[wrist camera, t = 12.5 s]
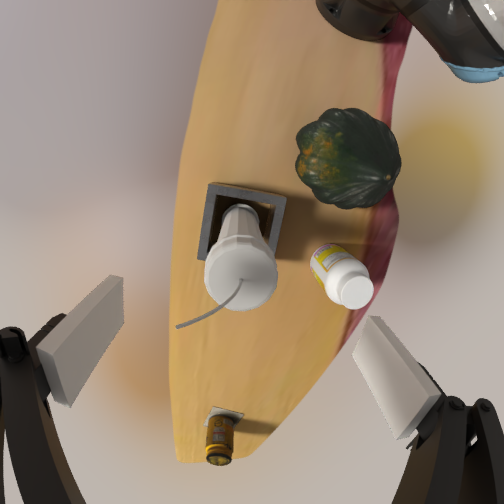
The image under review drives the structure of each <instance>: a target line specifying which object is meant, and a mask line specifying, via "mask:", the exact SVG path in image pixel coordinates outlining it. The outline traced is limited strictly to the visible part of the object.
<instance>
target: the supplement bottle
mask: <svg viewBox="0 0 504 504" xmlns="http://www.w3.org/2000/svg"><path fill="white" fill-rule="evenodd" d="M310 268H311V271H312V273H313V275H314V277H315V278H316V279H317V281H318V282H319V284H320V285H321V287H322V288H323V289H324V291H325V292H326V294H327V295H328V297H329V298H330V299H331V300H332V301H333V302H335V303H337V304H341V305H344V306H345V307H347V308H349V309H359V308H361V307H363V306H365V305H366V304H367V303H368V302H369V301H370V299H371V297H372V295H373V290H374V288H373V283H372V282H371V280H370V279H369V273H368V270H367V268H366V267H365V266H364V264H362V263H361V262H360V261H359V260H357V259H356V258H355V257H353V256H352V255H351V254H350V253H348V252H347V251H346V250H344V249H343V248H342V247H340V246H338V245H336V244H326V245H323V246H321V247H319V248H318V249H317V250H316V251H315V252H314V254H313V256H312V258H311V262H310Z"/></svg>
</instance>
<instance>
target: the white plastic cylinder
mask: <svg viewBox="0 0 504 504" xmlns="http://www.w3.org/2000/svg"><path fill="white" fill-rule="evenodd" d="M221 225H222V228H221V231H220V235H219V238H218V241H217V243H216V244H215V245H213V246H212V248H211V250H210V252H209V254H208V256H207V258H206V265H205V277H204V283H205V285H206V288H207V290H208V293H209V295H210V296H211V297H212V298H213V299H214V300H215V301H216V302H217V303H218V304H219V306H218V307H216V308H215V309H213V310H212V311H210V312H208V313H206V314H204V315H202V316H200V317H198V318H195V319H193V320H190V321H188V322H185V323H182V324H179V325H176V329H179V328H182V327H185V326H188V325H190V324H193V323H195V322H198V321H200V320H202V319H204V318H206V317H208V316H210V315H212V314H214V313H215V312H217V311H218V310H220V309H221V308H223V307H225V308H228V309H230V310H235V311H248V310H251V309H255V308H258V307H259V306H261V305H262V304H263V303H265V302H266V301H267V300H269V299H270V297H271V295H272V294H273V292H274V290H275V289H276V287H277V279H278V272H277V264H276V260H275V257H274V254H273V251H272V250H271V249H270V247H269V246H268V245H267V244H266V243H265V242H264V240H263V238H262V235H261V232H260V229H259V218H258V214H257V213H256V211H255V210H254V209H253V208H252V207H251V206H249V205H247V204H242V203H237V204H234V205H232V206H230V207H229V208H228V209H227V210H226V211H225V213H224V215H223V216H222V224H221Z"/></svg>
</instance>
